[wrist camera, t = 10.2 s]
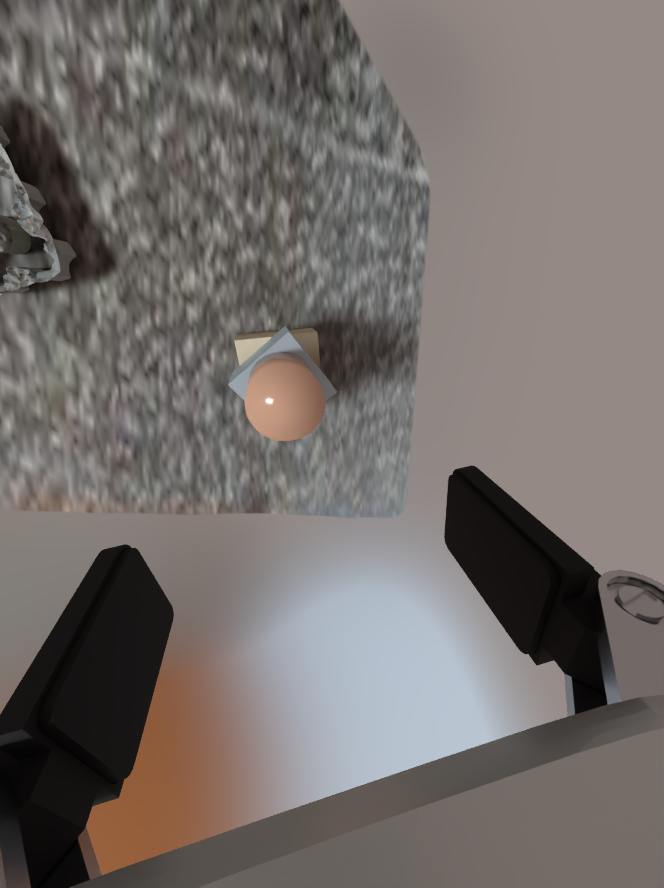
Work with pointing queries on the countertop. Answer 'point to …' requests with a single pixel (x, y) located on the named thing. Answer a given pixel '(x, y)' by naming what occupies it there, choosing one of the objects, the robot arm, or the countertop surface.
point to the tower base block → (254, 341)
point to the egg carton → (28, 233)
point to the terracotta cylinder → (283, 397)
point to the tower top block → (277, 343)
